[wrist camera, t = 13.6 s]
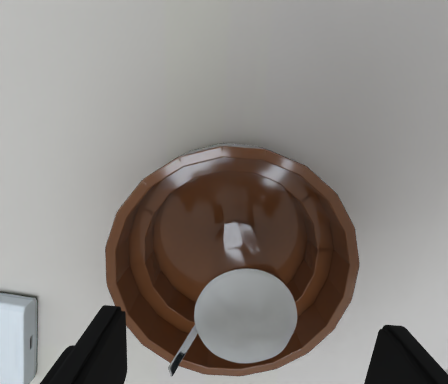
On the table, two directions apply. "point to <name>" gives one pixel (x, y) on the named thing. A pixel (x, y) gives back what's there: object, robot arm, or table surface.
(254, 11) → the table surface
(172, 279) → the bowl
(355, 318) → the table surface
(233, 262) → the milkshake
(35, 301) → the hard drive
